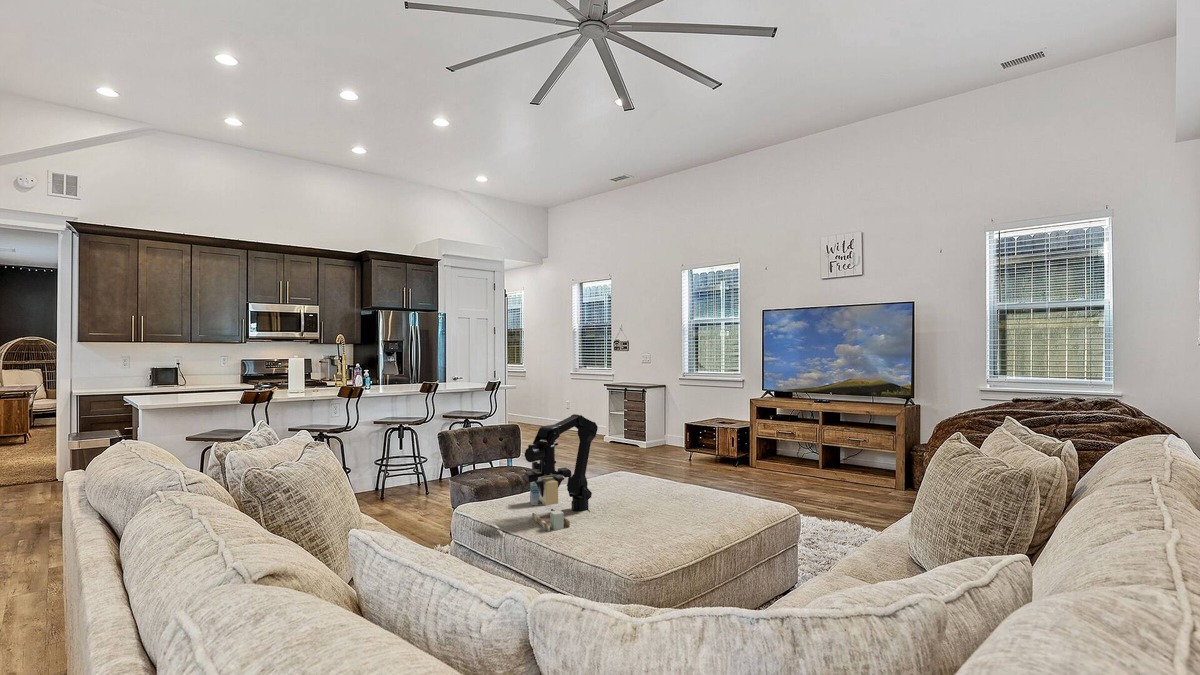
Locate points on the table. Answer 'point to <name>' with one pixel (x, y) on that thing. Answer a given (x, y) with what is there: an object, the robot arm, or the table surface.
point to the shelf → (548, 521)
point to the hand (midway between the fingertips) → (548, 495)
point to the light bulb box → (535, 494)
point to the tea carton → (549, 491)
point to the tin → (556, 519)
